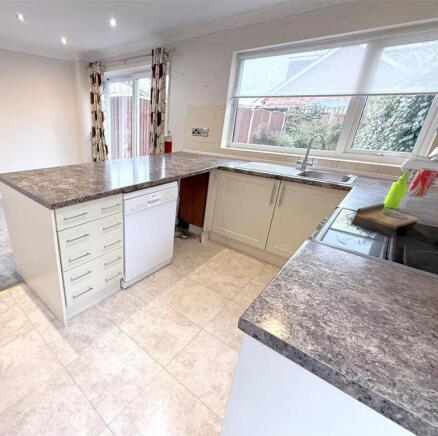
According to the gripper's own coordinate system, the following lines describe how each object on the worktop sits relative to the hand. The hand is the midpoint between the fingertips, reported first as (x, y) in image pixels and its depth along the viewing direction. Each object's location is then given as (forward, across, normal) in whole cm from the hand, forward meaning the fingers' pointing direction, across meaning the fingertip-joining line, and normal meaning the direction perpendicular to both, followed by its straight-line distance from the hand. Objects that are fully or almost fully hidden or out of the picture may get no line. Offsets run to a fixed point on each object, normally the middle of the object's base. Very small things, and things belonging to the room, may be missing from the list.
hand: (421, 181), depth 109 cm
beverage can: (+4, 0, +5) cm, 7 cm away
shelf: (+26, 0, +1) cm, 26 cm away
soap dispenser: (0, -12, +27) cm, 29 cm away
